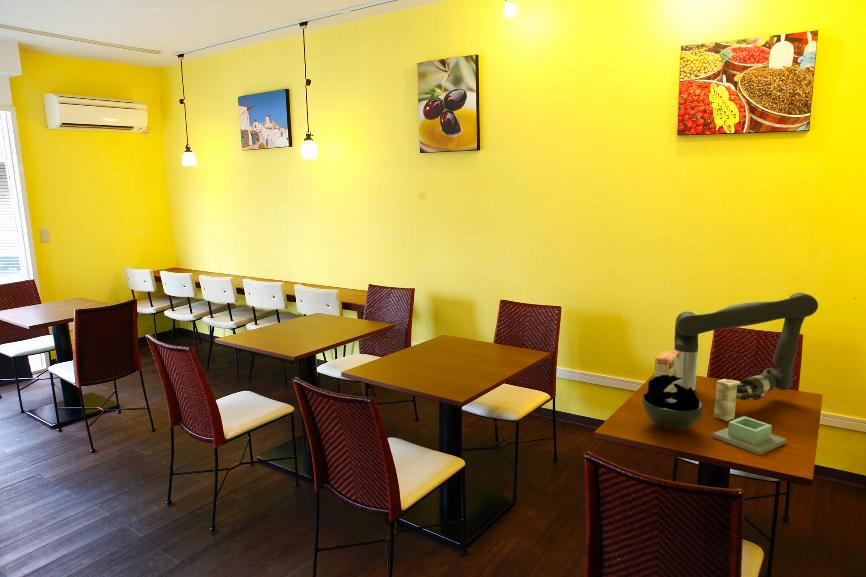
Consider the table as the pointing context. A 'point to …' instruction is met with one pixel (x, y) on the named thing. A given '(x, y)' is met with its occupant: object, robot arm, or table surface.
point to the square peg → (725, 399)
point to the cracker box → (667, 366)
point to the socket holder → (750, 435)
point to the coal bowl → (671, 404)
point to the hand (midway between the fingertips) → (731, 394)
